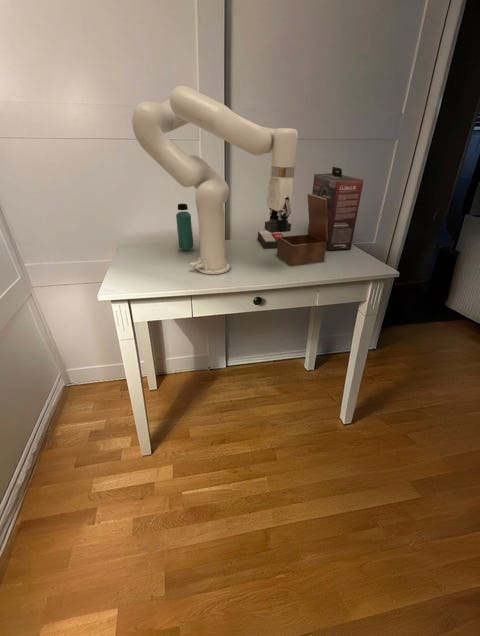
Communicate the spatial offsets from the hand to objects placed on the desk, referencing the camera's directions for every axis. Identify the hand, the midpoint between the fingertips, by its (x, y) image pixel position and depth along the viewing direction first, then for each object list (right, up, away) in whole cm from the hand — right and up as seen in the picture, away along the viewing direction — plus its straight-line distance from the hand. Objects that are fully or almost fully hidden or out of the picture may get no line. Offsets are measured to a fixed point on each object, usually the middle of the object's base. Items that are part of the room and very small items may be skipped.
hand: (277, 228), depth 110 cm
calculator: (+2, +4, +40) cm, 41 cm away
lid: (+18, +9, +15) cm, 25 cm away
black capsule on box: (0, 0, 0) cm, 0 cm away
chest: (+12, -6, +22) cm, 26 cm away
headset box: (+29, +5, +42) cm, 52 cm away
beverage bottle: (-37, -1, +30) cm, 48 cm away
